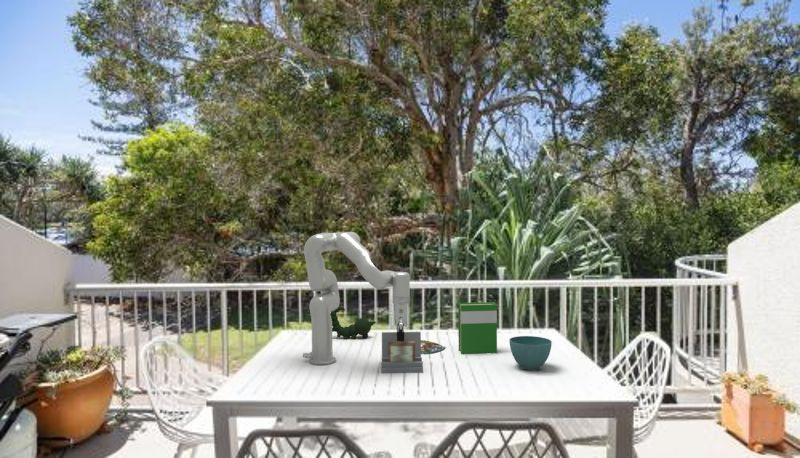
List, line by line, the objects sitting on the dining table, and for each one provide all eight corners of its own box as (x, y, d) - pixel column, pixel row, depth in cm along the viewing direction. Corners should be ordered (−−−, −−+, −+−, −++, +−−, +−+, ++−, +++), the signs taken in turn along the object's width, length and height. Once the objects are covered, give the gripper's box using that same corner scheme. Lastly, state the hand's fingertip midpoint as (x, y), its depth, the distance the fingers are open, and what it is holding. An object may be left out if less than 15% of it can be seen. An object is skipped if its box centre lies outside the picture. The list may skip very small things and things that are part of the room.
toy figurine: (332, 343, 301) (377, 338, 302) (328, 309, 301) (373, 304, 301) (333, 339, 311) (377, 334, 311) (330, 306, 310) (374, 301, 311)
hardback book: (461, 354, 269) (460, 305, 268) (458, 350, 276) (458, 302, 275) (497, 353, 270) (496, 304, 269) (493, 349, 277) (493, 302, 277)
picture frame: (388, 365, 242) (387, 343, 242) (388, 363, 246) (387, 341, 246) (415, 365, 242) (415, 342, 242) (414, 362, 247) (414, 340, 246)
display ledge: (381, 373, 238) (381, 340, 238) (382, 362, 256) (381, 332, 256) (422, 372, 239) (422, 340, 238) (420, 361, 256) (420, 331, 256)
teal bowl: (524, 360, 257) (524, 333, 257) (559, 367, 244) (559, 340, 244) (501, 367, 244) (501, 340, 244) (537, 376, 231) (537, 347, 231)
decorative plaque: (393, 336, 301) (448, 337, 295) (393, 341, 301) (448, 342, 295) (381, 350, 272) (441, 352, 266) (381, 356, 272) (441, 357, 266)
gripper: (410, 303, 235) (409, 343, 236) (408, 296, 252) (408, 334, 253) (392, 303, 235) (391, 343, 236) (392, 296, 252) (392, 333, 253)
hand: (400, 338), depth 244 cm, fingers open, 9 cm apart
